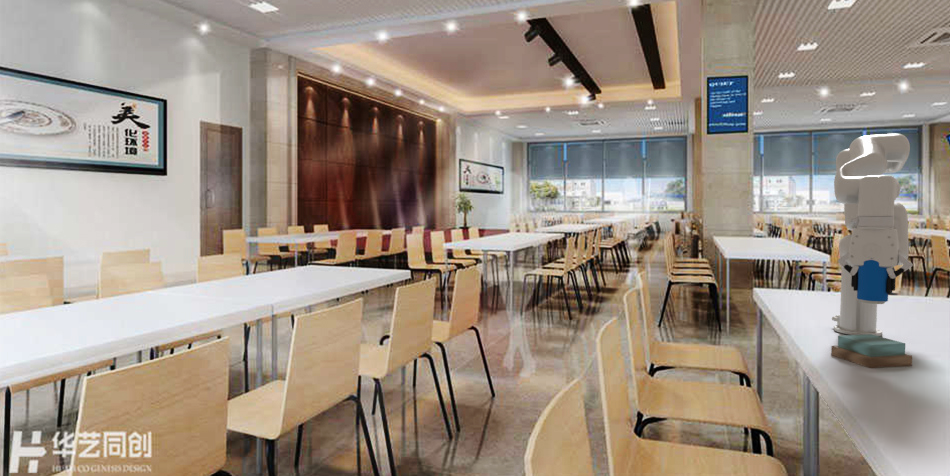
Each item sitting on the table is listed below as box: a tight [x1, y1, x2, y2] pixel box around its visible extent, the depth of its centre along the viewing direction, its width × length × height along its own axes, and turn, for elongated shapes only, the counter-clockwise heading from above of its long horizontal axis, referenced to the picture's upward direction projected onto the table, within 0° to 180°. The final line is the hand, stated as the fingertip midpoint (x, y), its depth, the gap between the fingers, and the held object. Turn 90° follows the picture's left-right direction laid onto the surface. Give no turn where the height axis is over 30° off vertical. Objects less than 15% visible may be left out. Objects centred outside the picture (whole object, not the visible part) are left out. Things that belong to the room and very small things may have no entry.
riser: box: [830, 334, 913, 369], centre depth 139 cm, size 12×12×6 cm
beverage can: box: [857, 257, 889, 305], centre depth 138 cm, size 6×6×12 cm
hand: (872, 291), depth 138 cm, fingers closed on beverage can, 6 cm apart
